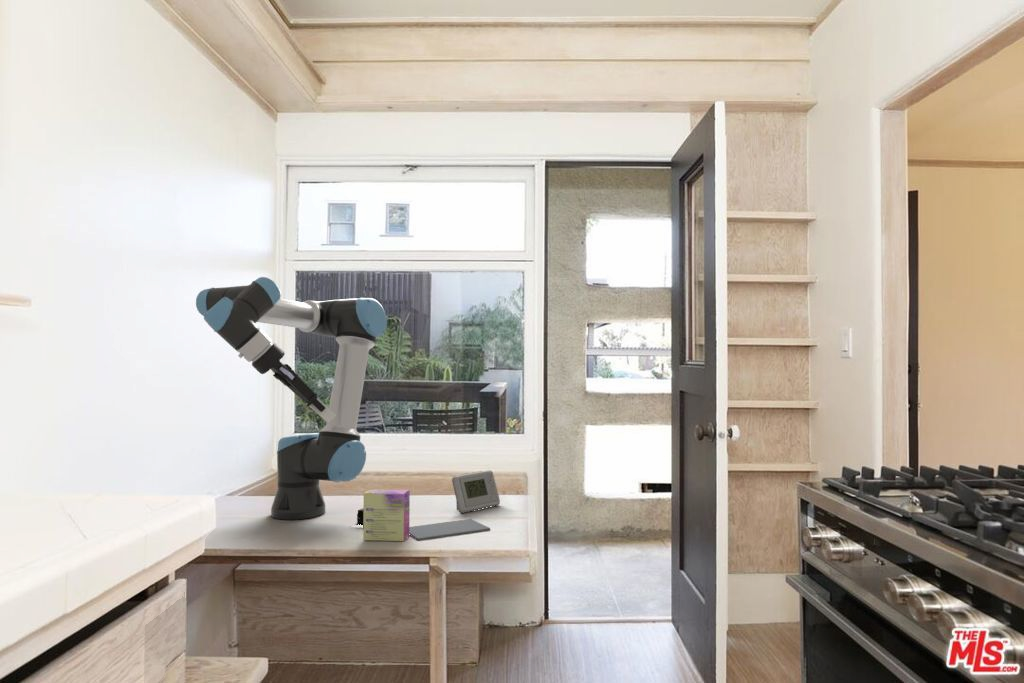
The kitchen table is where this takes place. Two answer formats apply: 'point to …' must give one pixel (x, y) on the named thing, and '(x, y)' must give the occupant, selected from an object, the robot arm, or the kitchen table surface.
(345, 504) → the kitchen table surface
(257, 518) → the kitchen table surface
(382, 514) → the box
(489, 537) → the kitchen table surface
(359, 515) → the black slotted mount bracket
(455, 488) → the digital clock
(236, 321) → the robot arm
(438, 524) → the mat
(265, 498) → the kitchen table surface
